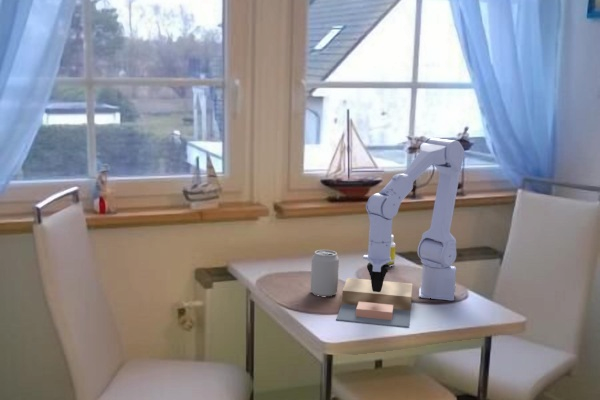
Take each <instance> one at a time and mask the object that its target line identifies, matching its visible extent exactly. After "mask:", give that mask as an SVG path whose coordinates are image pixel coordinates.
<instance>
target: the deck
mask: <svg viewBox="0 0 600 400" xmlns="http://www.w3.org/2000/svg"><path fill="white" fill-rule="evenodd" d="M341 294H342V297H341V305H342V304H348V305H358V302H369V303H379V304H390V305H393V309H400V310H410V311H411V306H412V298H411V297H412V294H413V283H411V282H410V283H409V282H401V281H400V282H398V281H386V280H384V281H383V286H382V289H381V292H373V290H372V284H371V279H365V278H354V277H347V278H346V280H345V283H344V286H343V288H342V293H341Z"/></svg>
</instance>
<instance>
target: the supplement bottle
mask: <svg viewBox="0 0 600 400" xmlns="http://www.w3.org/2000/svg"><path fill="white" fill-rule="evenodd" d="M394 239H395V237H394V234H392V236H391V251H390V257H391V261H390V262H388V263H389V264H390V266H389V268H390V267H391V266H392V267H394V266H395V261H396V260H395V259H396V258H395V257H396V243H395V242H394Z"/></svg>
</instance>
